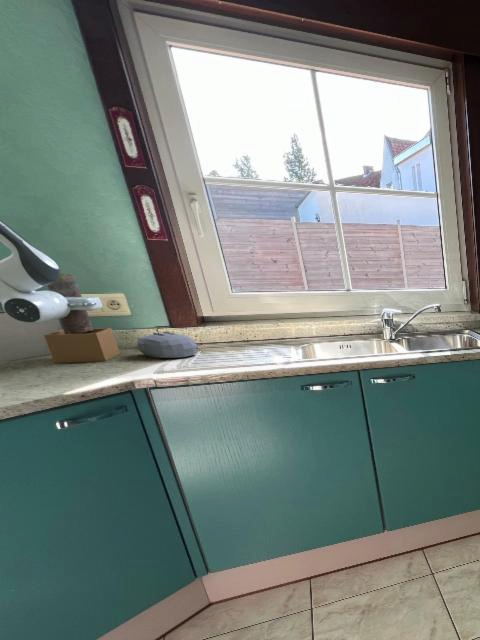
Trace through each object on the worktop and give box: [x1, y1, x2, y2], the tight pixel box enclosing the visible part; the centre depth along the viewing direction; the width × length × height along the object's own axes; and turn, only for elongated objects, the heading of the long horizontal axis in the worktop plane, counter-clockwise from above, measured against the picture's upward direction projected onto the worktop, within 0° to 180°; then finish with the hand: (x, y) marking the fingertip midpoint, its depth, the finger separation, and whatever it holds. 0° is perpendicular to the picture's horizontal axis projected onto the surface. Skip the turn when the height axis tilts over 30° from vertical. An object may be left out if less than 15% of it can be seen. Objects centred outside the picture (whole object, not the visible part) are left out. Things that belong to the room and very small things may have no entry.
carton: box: [43, 327, 121, 364], centre depth 173 cm, size 13×13×10 cm
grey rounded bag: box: [136, 331, 198, 359], centre depth 181 cm, size 15×8×20 cm
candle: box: [47, 273, 94, 334], centre depth 167 cm, size 8×7×20 cm
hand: (69, 301), depth 168 cm, fingers closed on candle, 7 cm apart
